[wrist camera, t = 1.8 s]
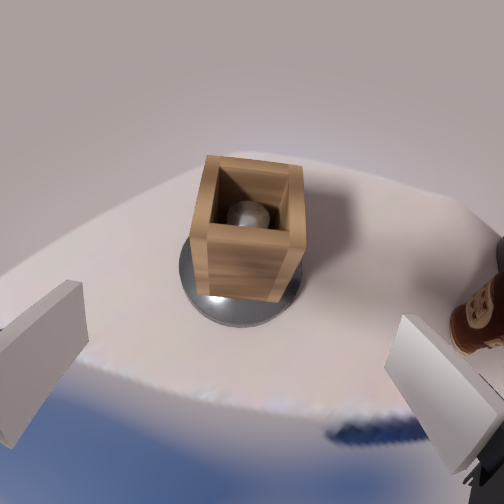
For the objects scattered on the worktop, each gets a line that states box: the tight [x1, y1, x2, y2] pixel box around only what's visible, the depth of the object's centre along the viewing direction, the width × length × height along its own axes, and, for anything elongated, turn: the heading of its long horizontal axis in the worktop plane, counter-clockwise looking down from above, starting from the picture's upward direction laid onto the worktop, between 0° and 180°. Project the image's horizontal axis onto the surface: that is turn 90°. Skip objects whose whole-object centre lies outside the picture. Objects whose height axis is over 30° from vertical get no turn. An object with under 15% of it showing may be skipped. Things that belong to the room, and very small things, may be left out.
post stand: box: [179, 201, 302, 328], centre depth 27 cm, size 12×12×9 cm
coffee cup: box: [450, 270, 504, 355], centre depth 24 cm, size 9×8×13 cm
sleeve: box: [189, 155, 307, 303], centre depth 25 cm, size 7×7×10 cm
